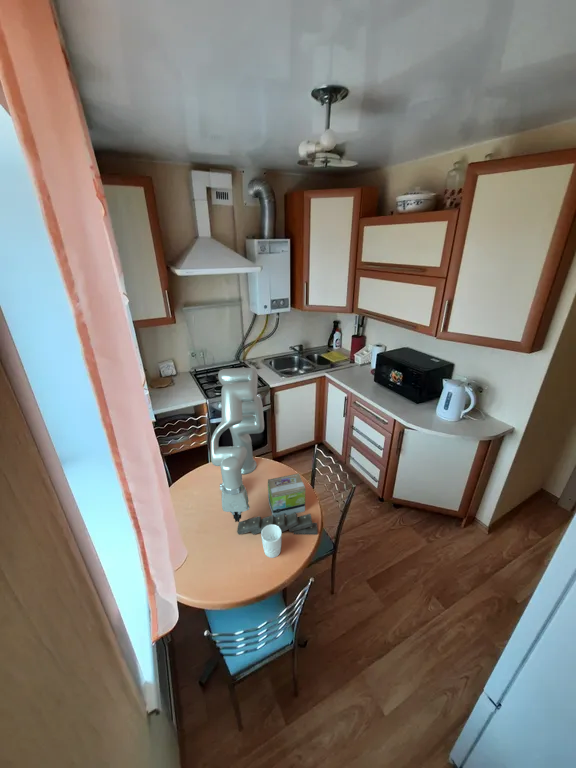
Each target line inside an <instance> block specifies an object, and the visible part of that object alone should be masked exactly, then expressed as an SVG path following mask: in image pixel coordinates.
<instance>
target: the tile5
mask: <svg viewBox="0 0 576 768" xmlns="http://www.w3.org/2000/svg"><path fill="white" fill-rule="evenodd" d="M312 524H313V526H311V527H307V528H303V529H300V530H296V531H293V535H301V536H302V535H307V536H309V535H310V536H311V535H313V536H315V535H316V536H317V535H318V522H312Z"/></svg>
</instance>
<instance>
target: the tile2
mask: <svg viewBox="0 0 576 768" xmlns="http://www.w3.org/2000/svg"><path fill="white" fill-rule="evenodd" d="M286 516H287V515H286ZM286 516H285V515H284V514H282V515H280V516H277V517H275V525H277V526H278V527H279V528H280V529H281V528H283V527H285V526H286Z"/></svg>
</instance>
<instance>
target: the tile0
mask: <svg viewBox="0 0 576 768" xmlns="http://www.w3.org/2000/svg"><path fill="white" fill-rule="evenodd" d="M261 519H262V517H261V515H258V516H255V517H251V518H248V519H243V520H242V521H239V522H237V523H238V524H237V530H236V533H237V534H238V535H243V534H247V533H250V532H251V531H254V530H257V529H261Z"/></svg>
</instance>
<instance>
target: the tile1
mask: <svg viewBox="0 0 576 768" xmlns="http://www.w3.org/2000/svg"><path fill="white" fill-rule="evenodd" d="M271 524H273V525H275V517H274V516H273V515H272V514H271V515H269V516H265V517H263V518H261V529H257V530H254V531H250V532H251V534H252V535H257V534H261V532H262V529H263V528H264V527H265V526H267V525H271Z"/></svg>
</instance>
